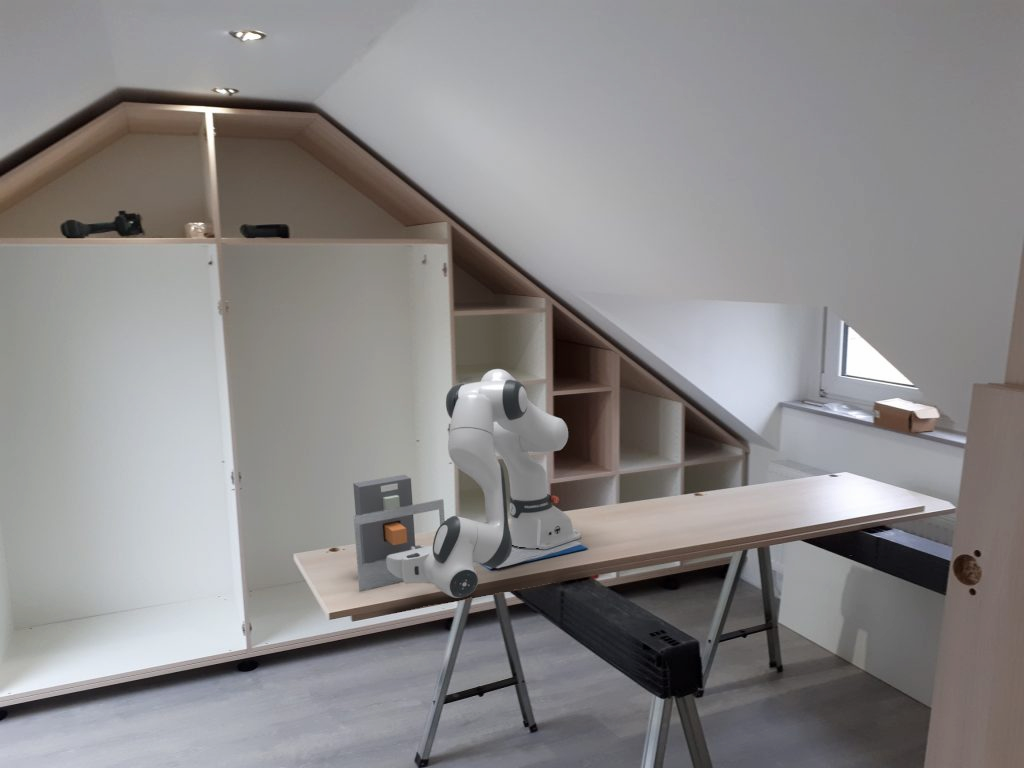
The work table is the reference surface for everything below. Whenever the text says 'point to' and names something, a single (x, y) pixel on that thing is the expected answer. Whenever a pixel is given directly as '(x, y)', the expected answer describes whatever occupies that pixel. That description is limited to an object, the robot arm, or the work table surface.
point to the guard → (377, 571)
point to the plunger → (395, 533)
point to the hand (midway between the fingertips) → (415, 548)
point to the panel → (381, 498)
